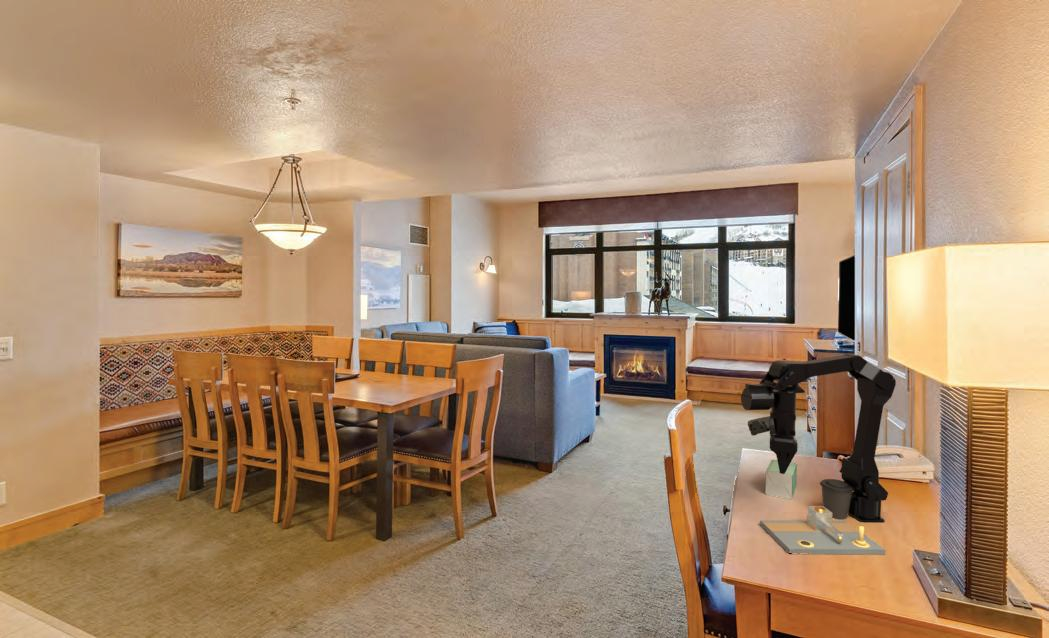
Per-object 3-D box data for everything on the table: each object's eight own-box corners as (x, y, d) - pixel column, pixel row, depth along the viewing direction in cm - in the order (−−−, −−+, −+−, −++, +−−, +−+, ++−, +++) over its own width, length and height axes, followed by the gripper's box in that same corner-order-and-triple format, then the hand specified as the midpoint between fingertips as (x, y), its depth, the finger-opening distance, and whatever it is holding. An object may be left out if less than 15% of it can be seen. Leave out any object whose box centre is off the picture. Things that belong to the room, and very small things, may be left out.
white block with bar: (822, 523, 134) (823, 505, 134) (849, 544, 123) (850, 524, 123) (806, 523, 134) (807, 504, 134) (832, 544, 123) (833, 524, 123)
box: (796, 485, 164) (797, 461, 163) (792, 500, 152) (793, 475, 152) (770, 481, 168) (771, 457, 167) (764, 495, 156) (765, 470, 156)
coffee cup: (811, 513, 145) (813, 478, 144) (832, 509, 148) (834, 474, 147) (838, 527, 137) (840, 489, 136) (859, 521, 140) (862, 485, 139)
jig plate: (844, 525, 136) (845, 504, 136) (884, 554, 121) (886, 531, 121) (759, 524, 136) (760, 504, 136) (789, 554, 121) (790, 531, 121)
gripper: (751, 399, 150) (749, 453, 151) (748, 414, 133) (747, 474, 134) (795, 403, 145) (793, 459, 146) (798, 418, 128) (796, 481, 129)
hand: (781, 468), depth 139 cm, fingers open, 9 cm apart
